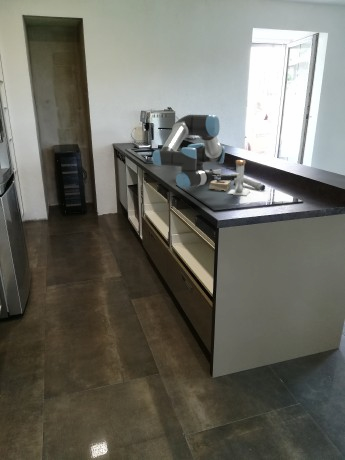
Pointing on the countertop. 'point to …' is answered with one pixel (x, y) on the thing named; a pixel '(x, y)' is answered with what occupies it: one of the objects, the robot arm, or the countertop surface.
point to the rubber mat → (238, 193)
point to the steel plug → (240, 180)
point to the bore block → (220, 185)
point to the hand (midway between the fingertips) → (229, 173)
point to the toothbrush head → (253, 184)
